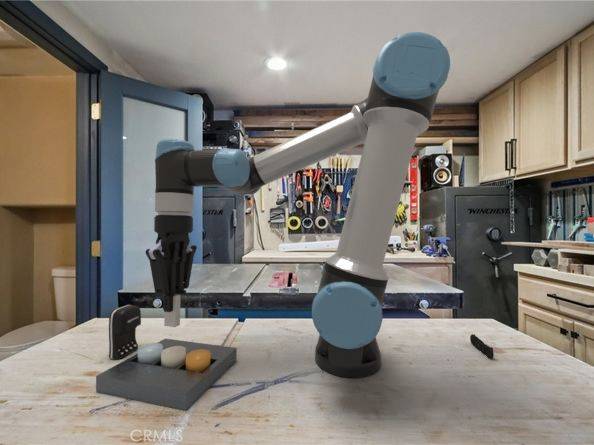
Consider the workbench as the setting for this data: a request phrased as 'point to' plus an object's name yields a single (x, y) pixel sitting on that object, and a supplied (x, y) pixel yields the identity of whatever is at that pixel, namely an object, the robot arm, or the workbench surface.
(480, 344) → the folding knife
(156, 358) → the pale blue button
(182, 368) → the panel
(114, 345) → the battery charger
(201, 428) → the workbench surface
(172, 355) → the ivory button
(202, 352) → the orange button
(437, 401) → the workbench surface
